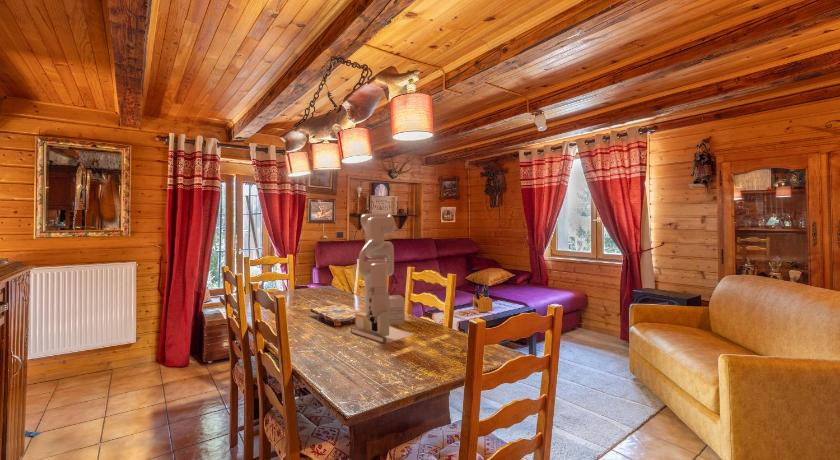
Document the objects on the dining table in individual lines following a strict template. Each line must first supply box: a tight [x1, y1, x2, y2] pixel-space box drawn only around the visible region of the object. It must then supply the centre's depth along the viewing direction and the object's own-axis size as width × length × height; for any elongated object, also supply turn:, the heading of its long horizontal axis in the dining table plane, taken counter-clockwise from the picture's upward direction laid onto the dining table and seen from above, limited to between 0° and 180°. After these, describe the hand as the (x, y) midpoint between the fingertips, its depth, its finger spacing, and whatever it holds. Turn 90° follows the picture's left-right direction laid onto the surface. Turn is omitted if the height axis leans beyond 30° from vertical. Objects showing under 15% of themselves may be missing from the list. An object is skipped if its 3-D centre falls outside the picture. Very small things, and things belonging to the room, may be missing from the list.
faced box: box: [354, 311, 369, 332], centre depth 188 cm, size 4×7×9 cm, turn 47°
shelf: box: [350, 326, 415, 345], centre depth 187 cm, size 19×24×4 cm
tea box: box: [369, 311, 390, 337], centre depth 180 cm, size 5×9×11 cm, turn 47°
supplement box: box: [389, 294, 406, 326], centre depth 205 cm, size 9×9×15 cm
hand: (378, 329), depth 181 cm, fingers closed on tea box, 4 cm apart
